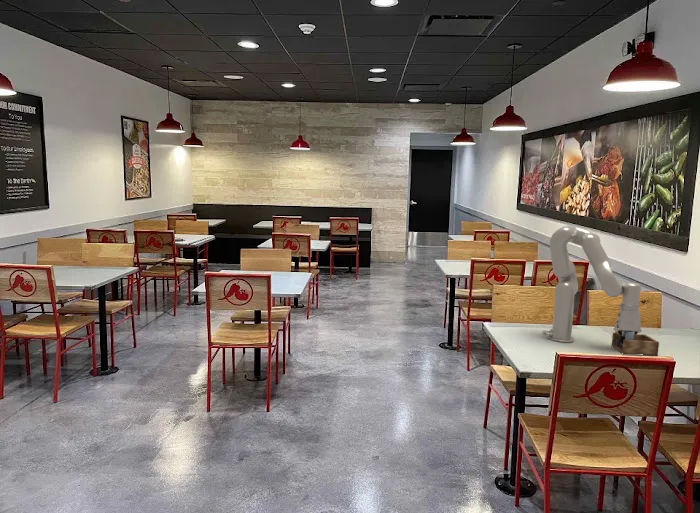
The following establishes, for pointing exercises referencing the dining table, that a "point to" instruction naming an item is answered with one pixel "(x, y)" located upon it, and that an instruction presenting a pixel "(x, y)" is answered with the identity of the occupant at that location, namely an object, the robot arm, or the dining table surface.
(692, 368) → the dining table surface
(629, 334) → the blue-gray flat block
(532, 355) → the dining table surface
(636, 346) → the wooden box
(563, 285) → the robot arm
